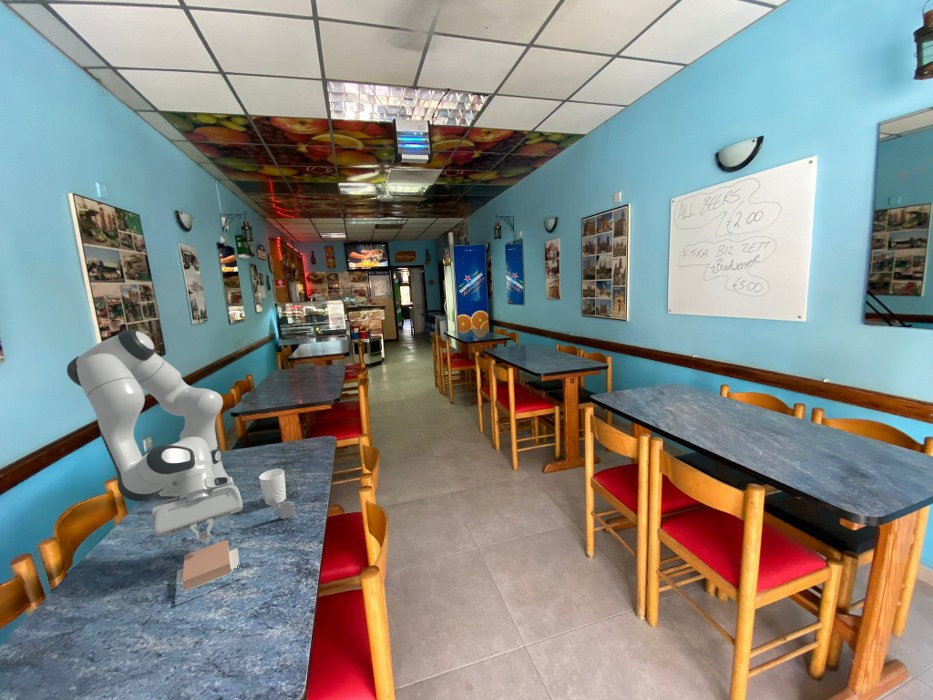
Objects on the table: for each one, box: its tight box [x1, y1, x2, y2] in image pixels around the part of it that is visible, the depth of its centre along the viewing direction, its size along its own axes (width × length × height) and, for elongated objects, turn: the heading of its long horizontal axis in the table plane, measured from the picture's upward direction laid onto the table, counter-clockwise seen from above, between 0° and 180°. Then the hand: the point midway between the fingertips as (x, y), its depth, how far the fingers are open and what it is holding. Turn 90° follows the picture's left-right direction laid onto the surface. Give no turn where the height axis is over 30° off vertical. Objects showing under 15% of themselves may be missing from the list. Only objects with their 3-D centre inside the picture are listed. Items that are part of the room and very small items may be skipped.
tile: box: [182, 539, 232, 592], centre depth 102 cm, size 3×10×12 cm
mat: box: [175, 548, 241, 587], centre depth 100 cm, size 14×14×1 cm
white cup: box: [258, 468, 287, 506], centre depth 134 cm, size 8×8×10 cm
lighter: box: [268, 497, 296, 520], centre depth 123 cm, size 7×2×8 cm, turn 116°
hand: (204, 538), depth 103 cm, fingers closed
